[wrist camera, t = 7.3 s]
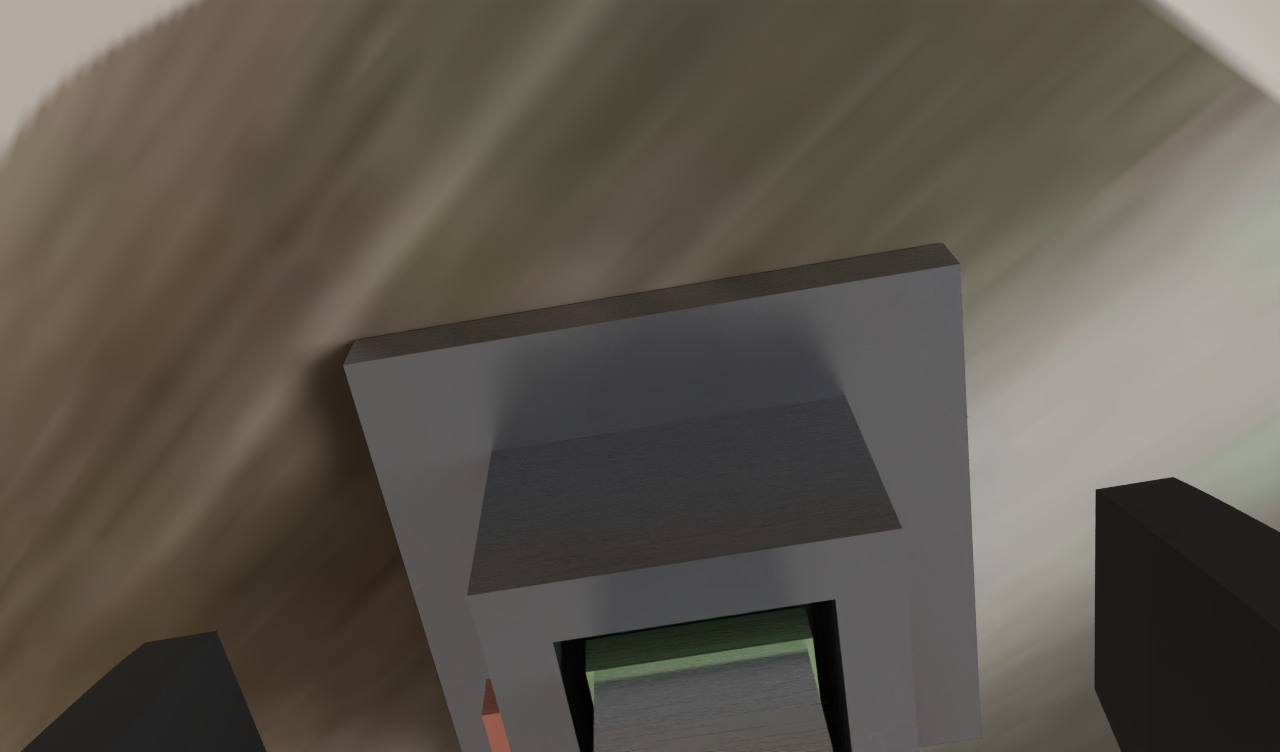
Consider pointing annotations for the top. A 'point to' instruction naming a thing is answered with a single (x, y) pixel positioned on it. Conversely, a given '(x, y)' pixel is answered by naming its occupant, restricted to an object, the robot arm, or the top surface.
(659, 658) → the light grey rectangular block
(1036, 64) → the top surface
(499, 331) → the grey square socket base
